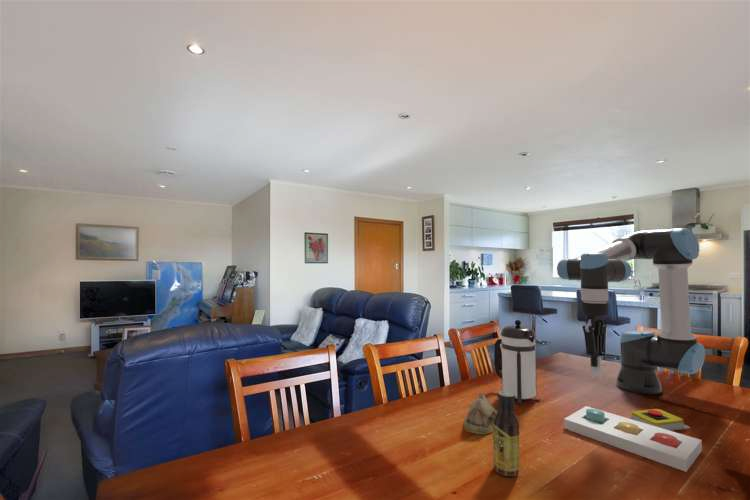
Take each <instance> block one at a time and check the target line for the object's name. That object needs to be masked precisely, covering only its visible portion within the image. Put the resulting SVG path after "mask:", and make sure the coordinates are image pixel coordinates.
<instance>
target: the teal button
mask: <svg viewBox="0 0 750 500" xmlns="http://www.w3.org/2000/svg"><path fill="white" fill-rule="evenodd" d="M600 410H601V409H598V410H597V408H595V409H587V410H586V419H587V420H590V421H593V422H596V423H599V424H603V423H605V413H604V412H602V411H603V410H601V411H600Z"/></svg>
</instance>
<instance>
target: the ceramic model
mask: <svg viewBox="0 0 750 500" xmlns="http://www.w3.org/2000/svg"><path fill="white" fill-rule="evenodd" d="M468 408H469V409H468V411H467V416H465V418H464V423H463V427H464V430H465V432H467V431H468V433H470V432H471V433H470V434H474V433H475V435H488V434H491V433H493V424H494V420H495V417H496V415H497V412H498V410H497V409H495V408H494V406H493V404H492V402H490V400H489V399H487V397H486V396H485V395H484V394H483V393H479V395H478V397H477V399H475V400H474V401H473V402H471V404H470V405H469V407H468Z"/></svg>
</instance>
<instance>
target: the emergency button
mask: <svg viewBox="0 0 750 500" xmlns="http://www.w3.org/2000/svg"><path fill="white" fill-rule="evenodd" d="M630 415H631V417H630V419H632V420H635V421H639V422H642V423H646V424H649V425H652V426H656V427H659V428H662V429H666V430H669V431H680V430H688V429H691V427H690V426H689V425H687V424H685V422H684V419H683V418H682V417H679V416H677V415H674V414H672V413H669V412H667V411H665V410H662V409H659V408H651V409H642V410H633V411H632V410H631V413H630Z"/></svg>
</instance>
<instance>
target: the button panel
mask: <svg viewBox="0 0 750 500" xmlns="http://www.w3.org/2000/svg"><path fill="white" fill-rule="evenodd" d="M587 409H597V408H593V407H591V406H588V405H585V406H583V407H582V408H581V409H579V410H577V411H575V412H573V413H571V414H570V415H568V416H566V417H564V418H563V428H564V430H567V429H568V431H570V432H574V433H577V434H578V435H579V434H580V435H582V436H584V437H588V438H590V439H593V440H595V441H598V442H601V443H605V444H608V445H610V446H613V447H616V448H619V449H621V450H624V451H626V452H630V453H632V454H635V455H638V456H640V457H644V458H646V459H649V460H651V461H654V462H657V463H660V464H663V465H665V466H668V467H672V468H675V469H676V470H680V471H683V472H686V473H687V472H688V470H689V469H690V468H691V467H692V465H693V464H694V463H695V461H696V459H697V458H698V457H699V456H700V454H701V453H702V451H703V444H702V443H703V442H702V439H699V438H697V437H692V436H689V435H685V434H683V433H678V432H676V431H674V430H672V431H669V430H666V429H662V428H659V427H656V426H652V425H649V424H646V423H642V422H639V421H635V420H632V419H631V418H628V417H625V416H622V415H618V414H614V413H611V412H608V411H604V410H601V409H597V410H600V411H602V412H604V413H605V423H603V424H599V423H596V422H593V421H590V420H587V419H586V410H587ZM619 422H629V423H633V424H635V425H637V426H638V427H639V434H638V435H637V436H636V435H633V434H630V433H627V432H624V431H621V430H618V423H619ZM655 433H665V434H669V435H672V436H674V437H676V438H677V439H678V447H677V448H673V447H670V446H667V445H664V444H661V443H658V442H655Z"/></svg>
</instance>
